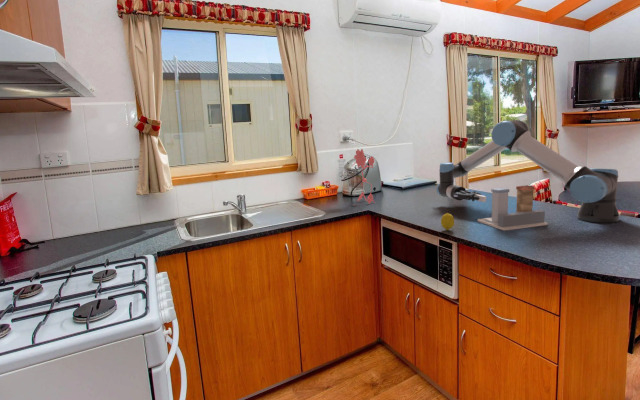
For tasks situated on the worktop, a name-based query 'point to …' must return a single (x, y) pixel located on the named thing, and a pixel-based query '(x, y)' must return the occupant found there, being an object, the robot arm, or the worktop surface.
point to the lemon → (447, 221)
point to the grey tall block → (499, 203)
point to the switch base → (517, 220)
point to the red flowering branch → (361, 162)
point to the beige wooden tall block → (524, 198)
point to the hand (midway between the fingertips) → (484, 199)
